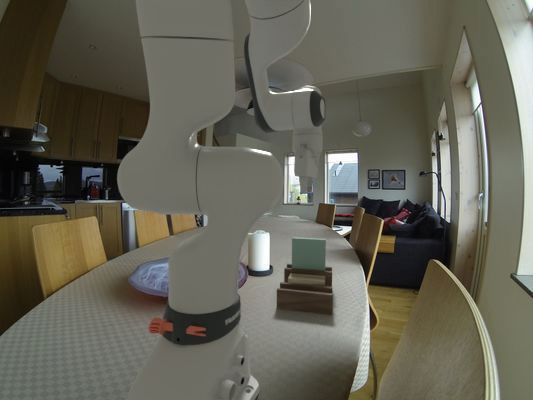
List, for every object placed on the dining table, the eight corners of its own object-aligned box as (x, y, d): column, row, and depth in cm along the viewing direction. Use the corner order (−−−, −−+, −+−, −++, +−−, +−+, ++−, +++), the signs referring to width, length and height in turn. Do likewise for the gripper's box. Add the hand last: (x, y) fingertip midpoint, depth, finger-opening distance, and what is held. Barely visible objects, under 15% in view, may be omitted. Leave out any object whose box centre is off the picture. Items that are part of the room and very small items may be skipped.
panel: (324, 293, 76) (325, 240, 76) (291, 290, 79) (292, 238, 78) (324, 290, 78) (325, 238, 78) (292, 287, 81) (292, 237, 80)
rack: (332, 321, 63) (332, 287, 63) (276, 314, 66) (276, 281, 66) (331, 294, 80) (332, 266, 79) (286, 289, 83) (287, 263, 83)
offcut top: (324, 288, 69) (324, 281, 69) (288, 285, 72) (288, 278, 72) (324, 283, 74) (325, 276, 74) (290, 279, 76) (290, 273, 76)
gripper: (313, 139, 65) (312, 194, 66) (321, 150, 84) (321, 192, 85) (288, 140, 67) (288, 193, 68) (302, 150, 86) (302, 191, 87)
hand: (306, 192), depth 77 cm, fingers open, 8 cm apart
